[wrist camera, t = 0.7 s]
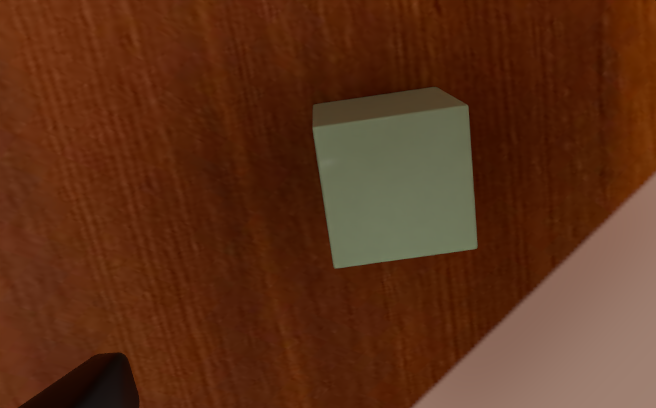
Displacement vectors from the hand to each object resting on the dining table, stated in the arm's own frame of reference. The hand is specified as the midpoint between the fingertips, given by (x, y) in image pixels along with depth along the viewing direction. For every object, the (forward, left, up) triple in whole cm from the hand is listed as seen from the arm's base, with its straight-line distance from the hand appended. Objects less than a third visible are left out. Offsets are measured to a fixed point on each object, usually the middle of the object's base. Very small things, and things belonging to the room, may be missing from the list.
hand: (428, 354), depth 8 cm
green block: (0, -1, -14) cm, 14 cm away
